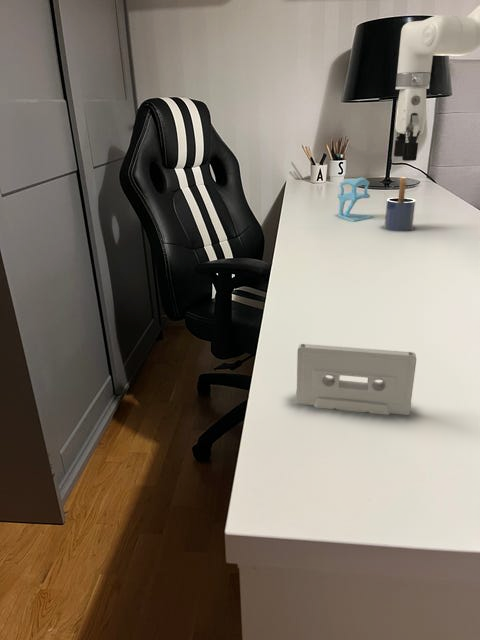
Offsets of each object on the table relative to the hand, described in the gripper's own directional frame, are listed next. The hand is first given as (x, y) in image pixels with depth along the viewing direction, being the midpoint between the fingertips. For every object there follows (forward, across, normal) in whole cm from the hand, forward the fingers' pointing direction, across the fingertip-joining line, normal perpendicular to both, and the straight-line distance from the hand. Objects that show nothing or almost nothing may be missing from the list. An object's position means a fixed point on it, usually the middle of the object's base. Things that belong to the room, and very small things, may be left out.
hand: (404, 158), depth 124 cm
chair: (+19, +15, +10) cm, 26 cm away
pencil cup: (+18, 0, 0) cm, 18 cm away
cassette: (+18, -86, +23) cm, 91 cm away
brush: (+18, 0, 0) cm, 18 cm away
